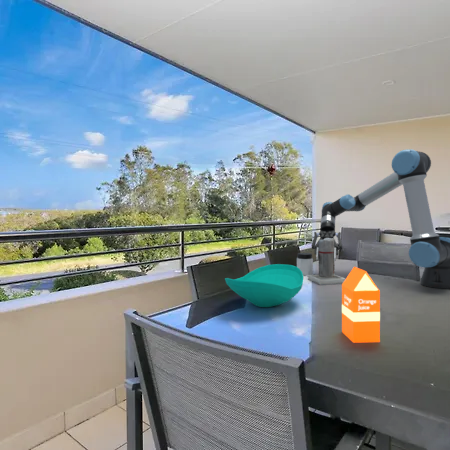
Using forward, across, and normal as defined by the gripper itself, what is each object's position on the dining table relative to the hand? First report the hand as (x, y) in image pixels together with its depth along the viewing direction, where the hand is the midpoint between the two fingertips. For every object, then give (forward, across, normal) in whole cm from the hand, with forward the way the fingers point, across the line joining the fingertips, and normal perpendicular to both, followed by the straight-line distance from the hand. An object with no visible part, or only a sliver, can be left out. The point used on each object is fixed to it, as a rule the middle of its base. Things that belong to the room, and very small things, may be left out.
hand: (325, 259), depth 175 cm
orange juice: (+61, -14, +44) cm, 76 cm away
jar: (-5, +13, -23) cm, 27 cm away
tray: (+6, 0, -11) cm, 13 cm away
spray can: (+5, 0, -9) cm, 10 cm away
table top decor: (+43, +20, +26) cm, 54 cm away
